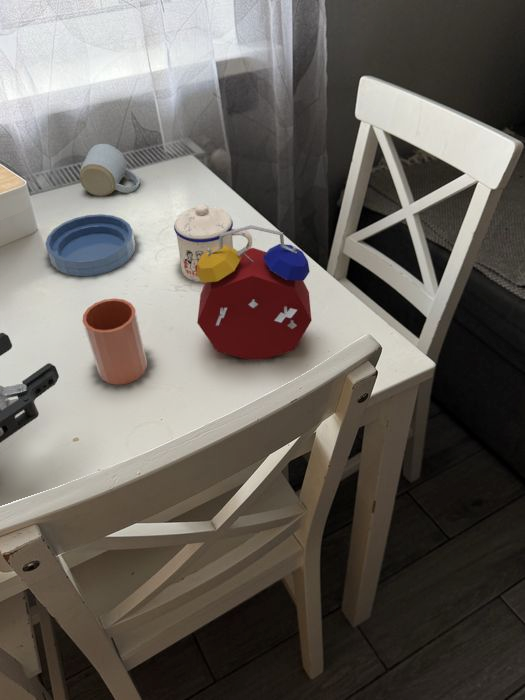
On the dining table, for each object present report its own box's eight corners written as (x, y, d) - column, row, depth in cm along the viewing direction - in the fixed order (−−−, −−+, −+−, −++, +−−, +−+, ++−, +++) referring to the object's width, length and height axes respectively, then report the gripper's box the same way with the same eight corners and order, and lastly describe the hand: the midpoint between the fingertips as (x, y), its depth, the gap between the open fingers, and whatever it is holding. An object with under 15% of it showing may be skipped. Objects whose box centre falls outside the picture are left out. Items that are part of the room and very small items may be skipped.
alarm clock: (307, 331, 86) (311, 209, 73) (310, 374, 80) (316, 250, 66) (205, 333, 87) (190, 212, 73) (201, 376, 80) (184, 253, 67)
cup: (91, 383, 80) (73, 328, 73) (111, 350, 85) (96, 295, 78) (137, 391, 79) (122, 335, 72) (154, 357, 83) (142, 302, 76)
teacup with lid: (178, 287, 95) (168, 223, 87) (182, 254, 101) (173, 192, 93) (254, 284, 95) (251, 220, 87) (252, 251, 101) (250, 189, 93)
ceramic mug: (81, 198, 116) (72, 161, 110) (93, 178, 121) (85, 142, 116) (135, 200, 115) (128, 163, 110) (144, 179, 121) (138, 143, 116)
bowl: (36, 273, 98) (29, 256, 96) (74, 227, 108) (69, 210, 106) (115, 284, 96) (111, 266, 93) (147, 236, 106) (144, 218, 103)
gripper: (-85, 460, 52) (63, 355, 61) (-162, 389, 58) (-18, 304, 68) (-52, 507, 57) (80, 404, 66) (-126, 438, 63) (4, 352, 73)
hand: (31, 354), depth 67 cm, fingers open, 8 cm apart
